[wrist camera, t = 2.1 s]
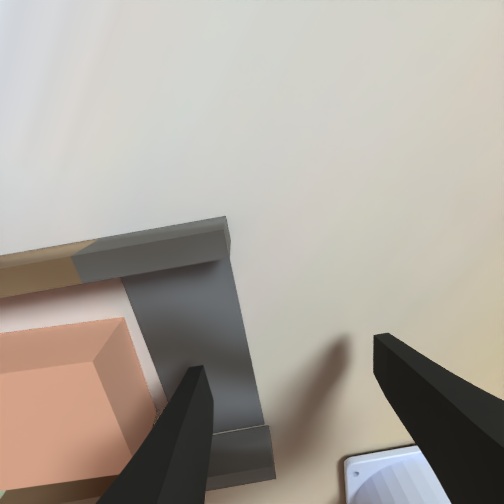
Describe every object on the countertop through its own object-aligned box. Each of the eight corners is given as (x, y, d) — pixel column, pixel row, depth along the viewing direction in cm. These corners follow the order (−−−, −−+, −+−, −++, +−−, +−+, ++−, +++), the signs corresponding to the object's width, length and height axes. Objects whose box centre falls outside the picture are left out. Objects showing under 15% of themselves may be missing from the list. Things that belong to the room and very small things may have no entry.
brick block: (158, 407, 14) (138, 471, 11) (27, 425, 14) (-27, 494, 11) (126, 313, 12) (92, 361, 9) (-28, 333, 12) (-112, 388, 9)
